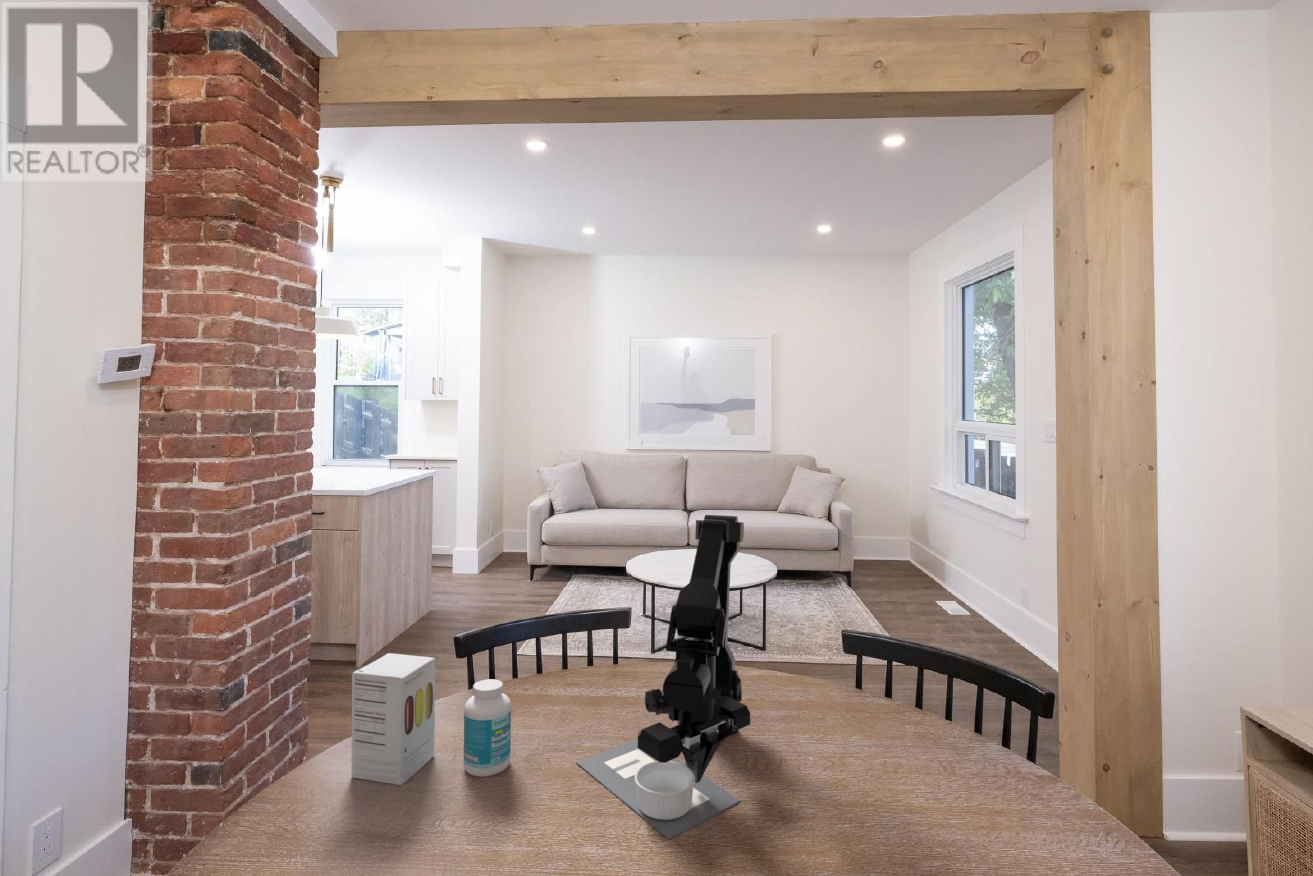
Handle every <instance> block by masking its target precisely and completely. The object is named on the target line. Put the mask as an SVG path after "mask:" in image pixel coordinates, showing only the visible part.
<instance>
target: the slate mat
mask: <svg viewBox="0 0 1313 876" xmlns="http://www.w3.org/2000/svg"><path fill="white" fill-rule="evenodd" d="M654 761H657V760H655V759H654V758H652V757H651V756H649V755H648V754H646V753H645V752H643V751H642V750H640V749H639V748H638V737H637V738H635V739H632V740H629V741H627V742H625V743H621V744H619V745H616V746H614V747H611V748H609V749H606V750H603V751H601V752H599V753H596V754H593V755H590V756H588V757H585V758H583V759H580V760H577V761H575V764H577V765H578V766H579V767H580V766H581V767H580V768H582V769H583V770H584V771H585V772H586V773H588V775H589V776H591V777H593V779H595V780H596V781H597V782H598V783H599V784H601V785H602V786H603V787H604V788H606V789H607V790H608V791H609V792H610V793H612V794H613V795H614V796H615V797H616V798H618V799H619V800H620V801H621V802H622V803H624V804H625V805H626V806H627V807H628V808H630V809H631V810H632V811H633V812H634V813H635V814H637V815H638V816H639V817H641V818H642V819H643V820H644V821H645V822H647V823H648V824H649V825H650V826H652V827H653V828H654V829H655V830H656V831H658V832H659V833H660V834H661V835H663V836H664V837H665V838H667V840H671V839H673V838H675V837H676V836H678V835H680V834H682V833H684V832H686V831H688V830H690V829H691V828H694V827H695V826H698V825H699V824H701V823H703V822H704V821H706V820H709V819H710V818H712V817H714V816H716V815H718V814H721V813H722V812H724V811H726V810H728V809H730V808H731V807H733V806H735V805H737V804H739V803H741V802H742V801H741V800H740V799H739V798H737V797H736V796H734V795H733V794H732V793H730V792H728V791H727V790H726V789H724V788H723V787H721V786H720V785H718V784H716V782H713V781H712V780H710V779H709V778H708V777H706V776H704V775H703V776H702V778H701V780H700V782H698V783H695V782H694V786H693V795H692V803H691V807H690V809H689V811H688V812H687V813H686V814H684V815H683V816H681V817H679V818H676V819H671V820H659V819H655V818H652V817H649V816H647V815H646V814H644V813H643V812H642V811H641V809H640V808H639V805H638V797H637V786H636V783H635V774H636V772H637V770H638V769H639V768H640V767H642V766H643V765H645V764H647V763H650V762H654ZM670 761H674V762H678V763H681V764H684V765H686V766H687V764H686V762H685V763H684V762H683V761H681V760H680V759H678V757H677V758H675V759H672V760H670Z"/></svg>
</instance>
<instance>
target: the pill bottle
mask: <svg viewBox="0 0 1313 876" xmlns="http://www.w3.org/2000/svg"><path fill="white" fill-rule="evenodd" d="M503 691H504V683H503V682H502V681H501V680H499V679H493V678H492V679H490V678H489V679H487V678H486V679H481V680H479V681H477V682H475V683H474V684H473V685H472V694H473V695H471V697H469V698H468V699H467V700H466V703H465V704H464V709H463V768H464V770H465V772H466V773H468V774H469V775H471V776H475V777H482V778H484V777H490V776H495V775H497V774H500V773H501V772H503V771H505V770H506V768H508V766H510V762H511V746H512V745H511V743H512V742H511V738H512V737H511V736H512V735H511V732H512V730H511V729H512V728H511V727H512V724H511V723H512V722H511V721H512V716H511V715H512V702H511V699H510V698H509V696H508V695H506V694H505V693H503Z"/></svg>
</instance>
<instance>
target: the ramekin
mask: <svg viewBox="0 0 1313 876" xmlns="http://www.w3.org/2000/svg"><path fill="white" fill-rule="evenodd" d="M686 765H687V764H686ZM686 765H684V764H681V763H678V762H674V761H668V762H666V763H661V762H658V761H654V762H650V763H647V764H645V765H643V766H642V767H640V768H639V769H638V770H637V772H636V774H635V783H636V786H637V797H638V805H639V808H640V809H641V811H642V812H643V813H644V814H646V815H647V816H649V817H652V818H655V819H659V820H671V819H676V818H679V817H681V816H683V815H684V814H686V813H687V812H688V811H689V809H690V807H691V803H692V795H693V786H694V782H695V775H694V773H693V771H692V770H691V769H690V768H689V767H687V766H686Z"/></svg>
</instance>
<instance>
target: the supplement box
mask: <svg viewBox="0 0 1313 876" xmlns="http://www.w3.org/2000/svg"><path fill="white" fill-rule="evenodd" d="M351 682H352V683H351V778H353V779H361V780H367V781H372V782H378V783H384V784H391V785H396V786H403V784H404V783H405V782H407V781H408V780H409V779H410V778H412V777H413V776H414V775H415V774H416V773H417V772H418V771H419V770H421V769H422V768H423V767H424V766H425V765H426V764H428V762H429V761H431V760H432V759H433V758H434V757H435V725H436V724H435V719H436V718H435V714H436V712H435V711H436V707H435V706H436V658H435V657H429V656H421V655H412V654H411V655H410V654H403V653H402V654H401V653H392V652H391V653H390V652H388V653H386V654H384V655H383V656H381V657H379V658H378V659H375V660H374V661H373V662H371V663H368V664H367V665H365V666H363V667H361V668H359V669H358V670H355V671H353V672H352V673H351ZM431 758H432V759H431Z"/></svg>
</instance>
